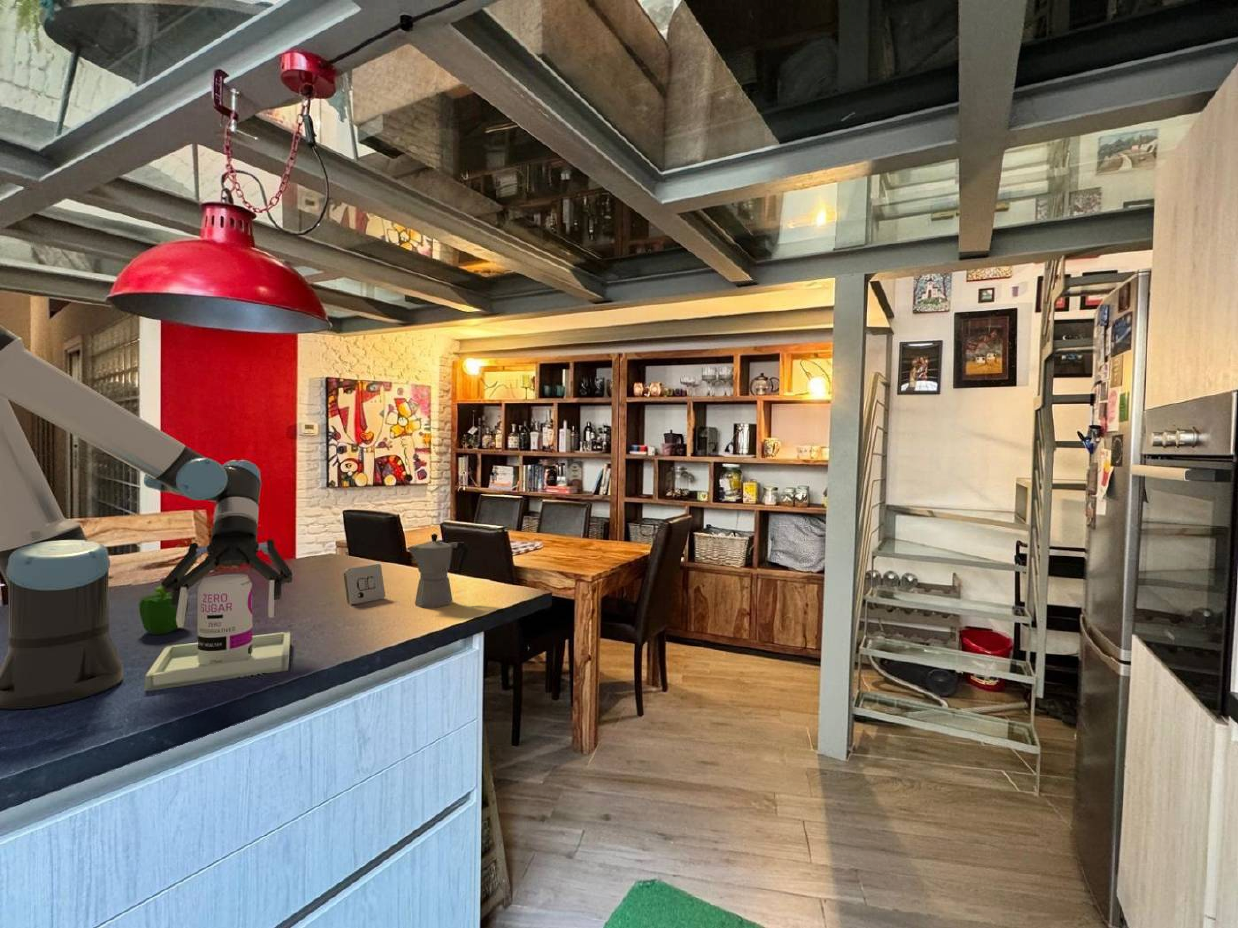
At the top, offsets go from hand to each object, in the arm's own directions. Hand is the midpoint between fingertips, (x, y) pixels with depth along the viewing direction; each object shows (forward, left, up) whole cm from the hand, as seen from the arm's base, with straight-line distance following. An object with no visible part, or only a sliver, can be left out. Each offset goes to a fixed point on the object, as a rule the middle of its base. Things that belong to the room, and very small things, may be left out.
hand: (226, 618), depth 103 cm
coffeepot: (+43, +28, -9) cm, 52 cm away
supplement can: (0, +2, -8) cm, 8 cm away
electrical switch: (+26, +39, -9) cm, 48 cm away
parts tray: (0, +1, -9) cm, 9 cm away
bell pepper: (-14, +30, -9) cm, 35 cm away
